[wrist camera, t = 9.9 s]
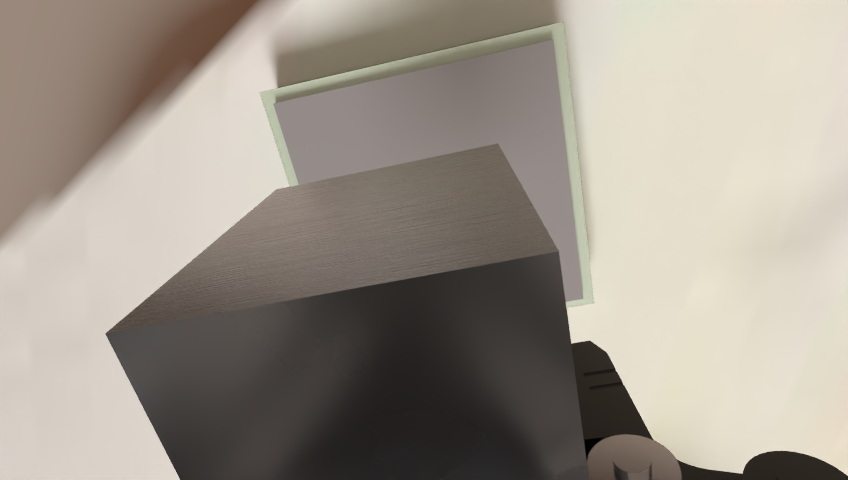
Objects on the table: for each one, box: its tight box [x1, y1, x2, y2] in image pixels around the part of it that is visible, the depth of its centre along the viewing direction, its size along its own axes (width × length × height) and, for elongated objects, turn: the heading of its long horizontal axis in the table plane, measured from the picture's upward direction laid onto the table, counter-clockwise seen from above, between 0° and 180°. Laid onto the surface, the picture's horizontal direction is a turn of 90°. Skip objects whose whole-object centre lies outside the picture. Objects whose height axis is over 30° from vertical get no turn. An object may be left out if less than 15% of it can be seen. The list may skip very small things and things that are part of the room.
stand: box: [260, 22, 594, 308], centre depth 26 cm, size 14×14×3 cm
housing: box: [106, 143, 589, 480], centre depth 10 cm, size 10×5×6 cm, turn 12°
